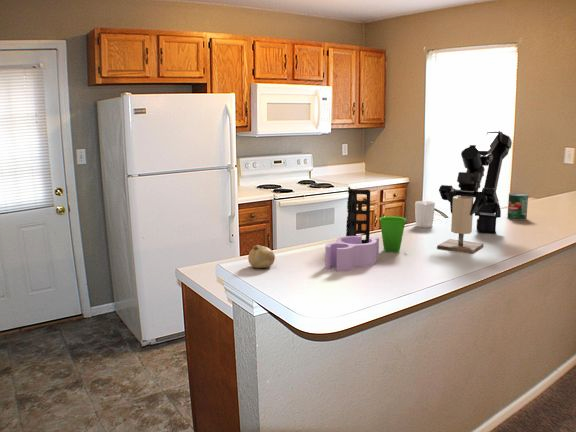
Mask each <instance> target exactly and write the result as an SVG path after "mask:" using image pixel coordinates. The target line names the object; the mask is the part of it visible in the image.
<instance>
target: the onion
mask: <svg viewBox="0 0 576 432" xmlns="http://www.w3.org/2000/svg"><path fill="white" fill-rule="evenodd" d="M247 259H248V263H249V265H250V266H251V267H253V268H255V269H260V268H261V269H262V268H263V269H270V268H271V266H272V265H273V264H274V263H275V260H276V256H275V253H274V251H272V249H271V248H269V247H267V246H263V245H260V244H256V245H253V247H252V249H251V250H250V251H249V253H248V258H247Z"/></svg>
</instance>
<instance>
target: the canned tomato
mask: <svg viewBox="0 0 576 432" xmlns="http://www.w3.org/2000/svg"><path fill="white" fill-rule="evenodd" d="M528 203H529V194H528V193H524V192H510V193H508V202H507V204H508V207H507V219H508V220H512V221H526V220H528V219H527V218H528V215H527V214H528Z"/></svg>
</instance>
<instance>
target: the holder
mask: <svg viewBox="0 0 576 432" xmlns="http://www.w3.org/2000/svg"><path fill="white" fill-rule="evenodd" d="M347 190H348V191H347V193H348V197H347V201H346V202H347V203H346V204H347V205H346V207H347V208H346V209H347V210H346V212H347V217H346V229H345V230H346V231H345V232H346V233H345V236H357V235H365V239H362V244H366V243H369V238H370V231H371V230H370V228H371V226H370V225H371V190H370V189H354V188H351V187H350V186H349V187H347ZM358 195H365V196H366V199H365V200H358ZM363 205H366V209H365V210H363ZM357 215H365V216H366V217H365V220H360V219H357ZM362 225H365V229H362Z"/></svg>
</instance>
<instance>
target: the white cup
mask: <svg viewBox="0 0 576 432" xmlns="http://www.w3.org/2000/svg"><path fill="white" fill-rule="evenodd" d="M435 204H436V202H434V201H431V200H418V201H417V200H416V201H415V203H414V208H415V209H414V210H415V212H414V213H415V214H414V216H415V217H414V219H415V226H416V227H418V228H433V224H434V214H435V206H436V205H435Z"/></svg>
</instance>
